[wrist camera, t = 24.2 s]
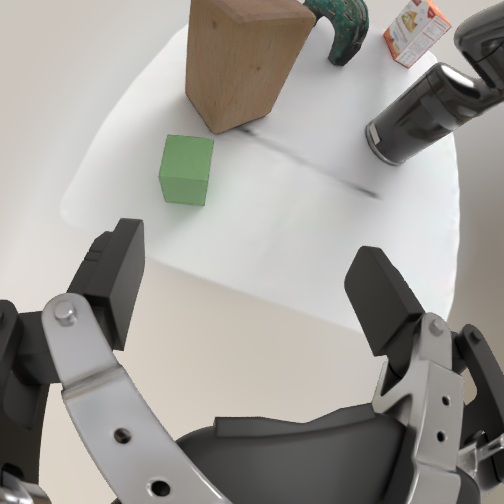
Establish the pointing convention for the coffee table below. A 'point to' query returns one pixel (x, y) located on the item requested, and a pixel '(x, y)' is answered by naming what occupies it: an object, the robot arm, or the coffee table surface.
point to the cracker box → (415, 31)
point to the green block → (185, 169)
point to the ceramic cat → (343, 25)
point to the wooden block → (241, 56)
